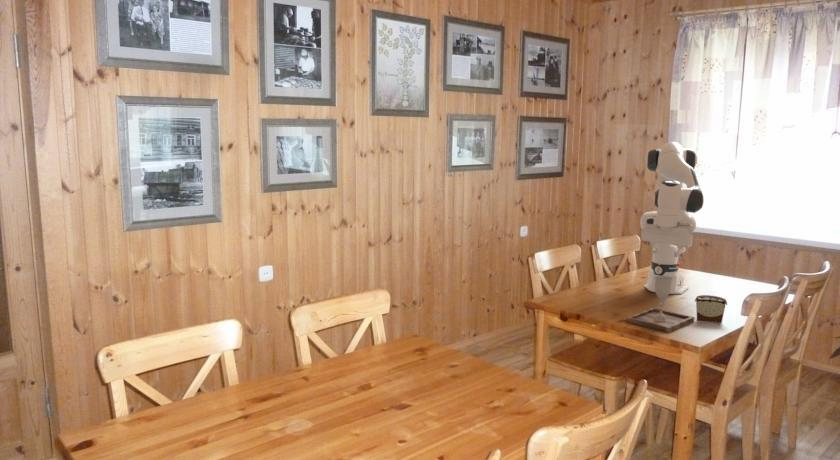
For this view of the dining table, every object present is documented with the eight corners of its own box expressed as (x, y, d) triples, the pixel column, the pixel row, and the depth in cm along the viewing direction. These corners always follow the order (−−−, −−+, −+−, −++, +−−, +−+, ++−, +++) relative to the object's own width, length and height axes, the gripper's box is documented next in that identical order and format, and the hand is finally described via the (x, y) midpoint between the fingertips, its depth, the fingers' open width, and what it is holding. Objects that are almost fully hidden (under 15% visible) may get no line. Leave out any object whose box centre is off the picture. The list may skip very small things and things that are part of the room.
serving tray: (652, 312, 272) (653, 307, 271) (693, 321, 259) (694, 317, 258) (626, 322, 257) (627, 317, 257) (668, 332, 244) (669, 327, 244)
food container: (723, 319, 262) (725, 296, 260) (725, 323, 256) (727, 300, 255) (691, 316, 266) (693, 293, 264) (693, 320, 260) (694, 297, 259)
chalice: (666, 317, 261) (669, 275, 258) (672, 322, 254) (675, 279, 252) (648, 317, 261) (651, 275, 258) (654, 322, 254) (657, 279, 251)
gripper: (697, 223, 246) (694, 257, 248) (648, 217, 260) (646, 250, 263) (690, 225, 241) (687, 260, 244) (640, 219, 256) (638, 252, 258)
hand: (665, 254), depth 253 cm, fingers open, 8 cm apart
